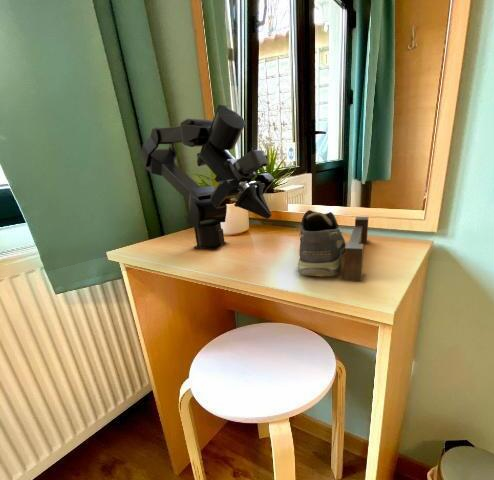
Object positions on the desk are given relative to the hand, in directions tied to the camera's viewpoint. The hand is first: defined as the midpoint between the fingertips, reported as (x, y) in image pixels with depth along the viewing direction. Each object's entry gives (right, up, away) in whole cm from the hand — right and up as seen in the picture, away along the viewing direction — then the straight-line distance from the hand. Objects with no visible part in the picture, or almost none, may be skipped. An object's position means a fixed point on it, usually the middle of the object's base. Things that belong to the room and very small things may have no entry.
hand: (269, 217), depth 68 cm
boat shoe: (+12, -9, +3) cm, 16 cm away
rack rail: (+20, -9, +2) cm, 22 cm away
